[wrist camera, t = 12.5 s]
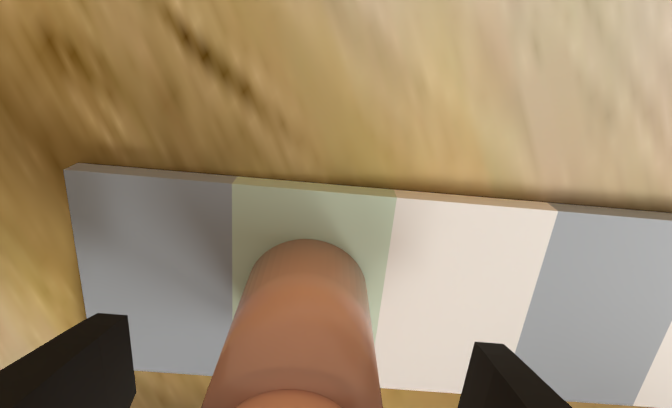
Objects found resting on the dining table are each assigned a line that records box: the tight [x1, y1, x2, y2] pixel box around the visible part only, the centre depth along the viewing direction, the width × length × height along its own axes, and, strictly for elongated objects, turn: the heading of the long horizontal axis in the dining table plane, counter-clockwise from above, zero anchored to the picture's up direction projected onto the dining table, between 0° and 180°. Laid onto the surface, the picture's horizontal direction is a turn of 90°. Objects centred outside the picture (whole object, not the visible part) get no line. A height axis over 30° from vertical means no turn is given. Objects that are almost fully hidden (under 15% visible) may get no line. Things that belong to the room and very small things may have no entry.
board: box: [63, 163, 672, 408], centre depth 11 cm, size 20×6×1 cm, turn 85°
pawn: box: [201, 239, 383, 408], centre depth 8 cm, size 3×3×7 cm
